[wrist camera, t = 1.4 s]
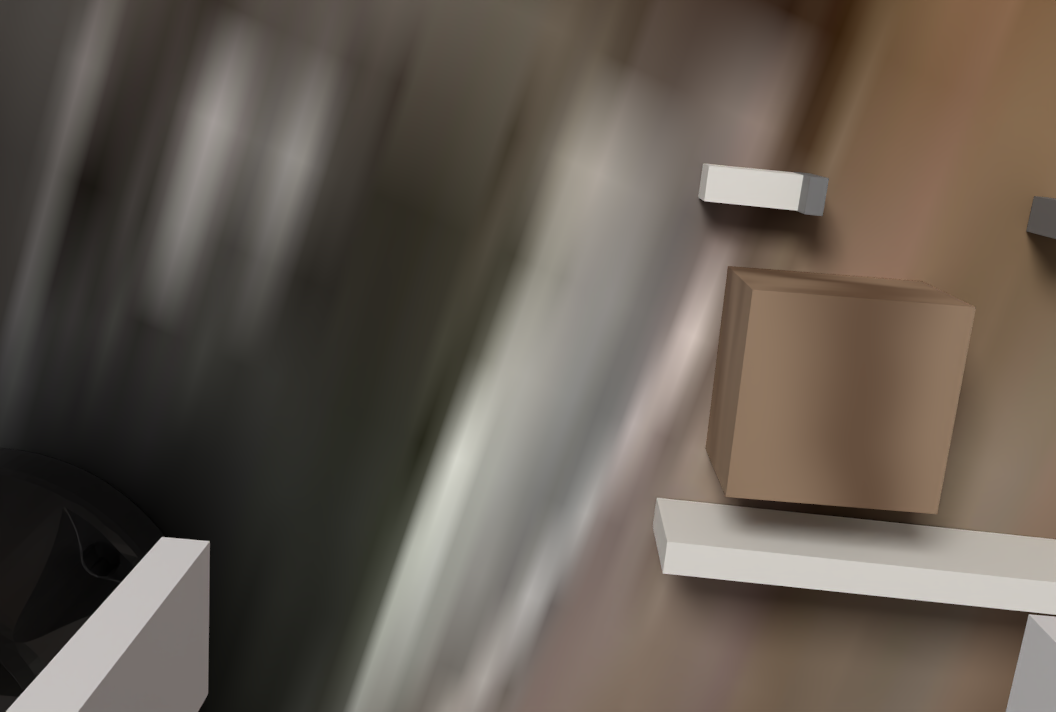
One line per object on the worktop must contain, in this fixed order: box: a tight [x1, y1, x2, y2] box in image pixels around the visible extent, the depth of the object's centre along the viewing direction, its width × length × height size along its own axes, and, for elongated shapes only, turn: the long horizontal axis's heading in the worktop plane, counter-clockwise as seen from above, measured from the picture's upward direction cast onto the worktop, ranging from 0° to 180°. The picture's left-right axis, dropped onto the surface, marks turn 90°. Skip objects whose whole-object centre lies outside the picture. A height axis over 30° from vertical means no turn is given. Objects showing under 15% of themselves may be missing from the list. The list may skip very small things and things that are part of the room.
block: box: [706, 266, 976, 514], centre depth 34 cm, size 7×7×5 cm
